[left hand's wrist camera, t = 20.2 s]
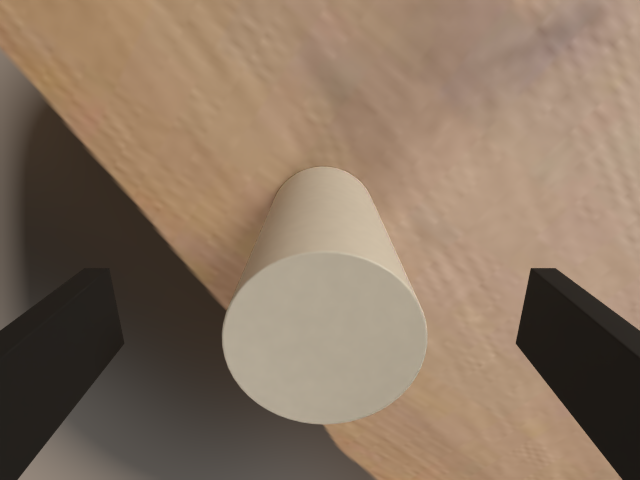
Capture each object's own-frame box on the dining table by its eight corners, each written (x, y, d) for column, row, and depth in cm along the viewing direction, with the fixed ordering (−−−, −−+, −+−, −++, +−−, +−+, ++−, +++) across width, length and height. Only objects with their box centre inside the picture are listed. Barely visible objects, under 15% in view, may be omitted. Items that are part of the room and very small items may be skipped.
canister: (341, 281, 22) (359, 450, 12) (253, 236, 21) (189, 377, 11) (394, 198, 20) (470, 312, 10) (301, 146, 19) (280, 211, 9)
